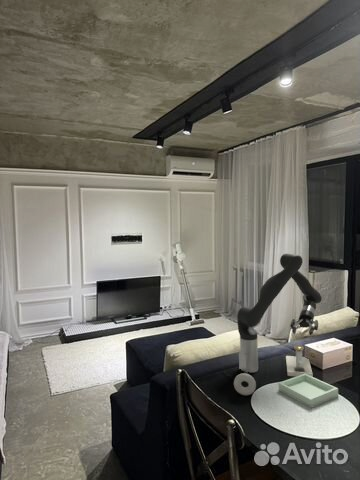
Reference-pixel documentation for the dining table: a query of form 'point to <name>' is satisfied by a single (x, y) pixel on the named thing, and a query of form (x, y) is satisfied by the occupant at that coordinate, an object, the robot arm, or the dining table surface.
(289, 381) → the tray
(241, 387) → the donut
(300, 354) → the pin
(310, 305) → the robot arm
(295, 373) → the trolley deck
